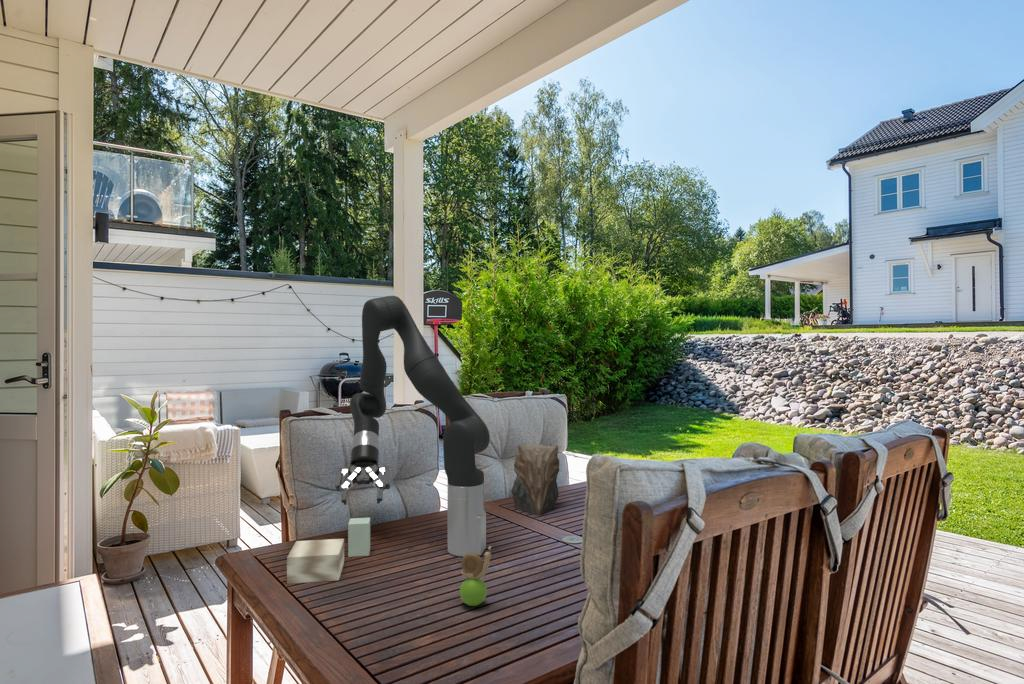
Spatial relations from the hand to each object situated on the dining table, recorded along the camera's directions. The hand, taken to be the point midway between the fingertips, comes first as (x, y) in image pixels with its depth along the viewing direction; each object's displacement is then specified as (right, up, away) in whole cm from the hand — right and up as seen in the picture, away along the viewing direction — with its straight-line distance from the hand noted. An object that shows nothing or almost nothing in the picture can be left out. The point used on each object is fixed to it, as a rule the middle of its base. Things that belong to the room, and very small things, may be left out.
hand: (361, 502), depth 158 cm
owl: (+47, -11, +32) cm, 58 cm away
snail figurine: (+32, -11, -37) cm, 50 cm away
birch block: (-5, -11, -20) cm, 23 cm away
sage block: (+1, -11, -6) cm, 13 cm away
